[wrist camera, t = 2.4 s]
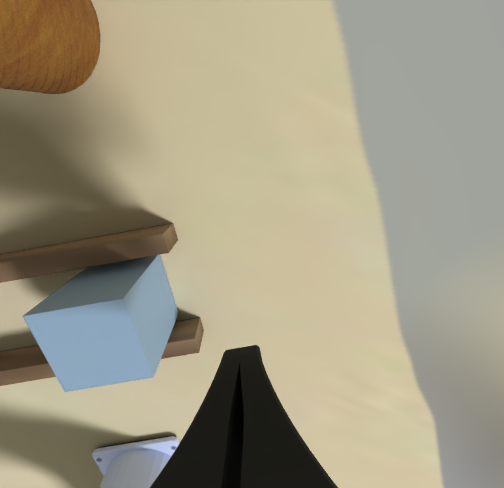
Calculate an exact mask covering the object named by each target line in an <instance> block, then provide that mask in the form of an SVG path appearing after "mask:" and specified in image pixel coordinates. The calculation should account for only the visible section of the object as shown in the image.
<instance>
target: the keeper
mask: <svg viewBox="0 0 504 488" xmlns="http://www.w3.org/2000/svg"><path fill="white" fill-rule="evenodd" d="M177 316H178V310H177V307H176V304H175V300H174V297H173V294H172V291H171V288H170V285H169V281H168V278H167V275H166V272H165V269H164V266H163V263H162V259H161V256H160V254H159V255H153V256H147V257H142V258H136V259H131V260H125V261H119V262H114V263H108V264H102V265H97V266H91V267H87V268H86V269H85V270H83V271H82V272H81V273H79V274H78V275H77V276H75V277H74V278H73V279H71V280H70V281H69V282H67V283H66V284H65V285H63V286H62V287H61V288H59V289H58V290H57V291H55V292H54V293H53V294H51V295H50V296H49V297H47V298H46V299H45V300H43V301H42V302H41V303H39V304H38V305H37V306H35V307H34V308H33V309H31V310H30V311H29V312H27V313H26V314H25V315H23V318H24V320H25V322H26V323H27V325H28V327H29V329H30V331H31V332H32V334H33V336H34V338H35V339H36V341H37V343H38V345H39V347H40V348H41V350H42V352H43V354H44V356H45V357H46V359H47V361H48V363H49V365H50V366H51V368H52V370H53V372H54V374H55V375H56V377H57V379H58V381H59V383H60V384H61V386H62V388H63V390H64V392H68V391H74V390H80V389H86V388H92V387H98V386H104V385H110V384H116V383H122V382H128V381H134V380H140V379H146V378H152V377H154V375H155V372H156V370H157V367H158V365H159V362H160V360H161V357H162V354H163V352H164V349H165V347H166V344H167V342H168V339H169V336H170V334H171V331H172V329H173V326H174V324H175V321H176V318H177Z"/></svg>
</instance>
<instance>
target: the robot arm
mask: <svg viewBox="0 0 504 488" xmlns="http://www.w3.org/2000/svg"><path fill="white" fill-rule="evenodd" d="M92 457H93V459H94V461H95V463H96V464H97V466H98V468H99V470H100V471H101V473H102V475H103V480H102V482H101V485H100V487H99V488H338V487H337V486H336V485H335V483H334V482H333V481H332V480H331V478H330V477H329V476H328V474H327V473H326V471H325V470H324V469H323V467H322V466H321V465H320V463H319V462H318V461H317V459H316V458H315V457H314V455H313V454H312V452H311V451H310V450H309V448H308V447H307V445H306V444H305V442H304V441H303V439H302V438H301V436H300V435H299V433H298V431H297V430H296V428H295V427H294V425H293V423H292V422H291V420H290V418H289V417H288V415H287V413H286V412H285V410H284V408H283V406H282V404H281V403H280V401H279V399H278V397H277V395H276V393H275V391H274V389H273V387H272V384H271V382H270V380H269V378H268V376H267V373H266V371H265V368H264V365H263V362H262V358H261V353H260V348H259V347H258V346H257V345H254V346H248V347H242V348H236V349H230V350H226V351H225V352H224V354H223V357H222V360H221V363H220V365H219V368H218V370H217V373H216V375H215V377H214V380H213V382H212V384H211V386H210V388H209V390H208V392H207V395H206V397H205V399H204V401H203V403H202V405H201V406H200V408H199V410H198V412H197V414H196V416H195V418H194V420H193V422H192V423H191V425H190V427H189V429H188V430H187V432H186V434H185V435H184V437H183V439H182V440H181V442H180V443H179V440H178V438H176V437H174V436H171V437H165V438H159V439H153V440H146V441H140V442H134V443H128V444H122V445H116V446H109V447H103V448H97V449H95V450H94V451H93V453H92Z"/></svg>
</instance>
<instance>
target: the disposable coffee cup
mask: <svg viewBox="0 0 504 488" xmlns="http://www.w3.org/2000/svg"><path fill="white" fill-rule="evenodd" d="M99 52H100V31H99V23H98V19H97V15H96V12H95V9H94V7H93V4H92V2H91V0H0V88H4V89H14V90H23V91H33V92H41V93H47V94H60V93H66V92H69V91H71V90H74V89H76V88H77V87H79V86H80V85H82V84H83V83H84V82H85V81H86V80H87V79H88V78H89V76H90V75H91V74H92V71H93V69H94V67H95V65H96V63H97V60H98V56H99Z"/></svg>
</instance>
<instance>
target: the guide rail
mask: <svg viewBox="0 0 504 488" xmlns="http://www.w3.org/2000/svg"><path fill="white" fill-rule="evenodd" d="M177 241H178V239H177V235H176V232H175V228H174V225H173V223H172V224H167V225H161V226H156V227H150V228H144V229H139V230H133V231H128V232H122V233H117V234H111V235H106V236H100V237H94V238H89V239H83V240H78V241H72V242H67V243H61V244H55V245H50V246H44V247H39V248H33V249H28V250H22V251H17V252H11V253H5V254H0V283H1V282H7V281H12V280H18V279H23V278H29V277H35V276H40V275H46V274H52V273H57V272H63V271H69V270H74V269H80V268H85V267H91V266H97V265H102V264H108V263H114V262H119V261H125V260H131V259H136V258H142V257H147V256H153V255H159V254H164V253H169V252H170V250H171V249H172V247H173V246H174V245H175V243H176V242H177ZM203 331H204V330H203V326H202V323H201V319H200V318H194V319H189V320H183V321H177V322H175V324H174V326H173V329H172V331H171V334H170V336H169V339H168V342H167V344H166V347H165V349H164V352H163V354H162V357H161V359H163V358H169V357H175V356H181V355H187V354H193V353H199V350H200V345H201V341H202V336H203ZM50 377H56V375H55V374H54V372H53V370H52V368H51V366H50V365H49V363H48V361H47V359H46V357H45V356H44V354H43V352H42V350H41V348H40V347H39V345H37V346H31V347H25V348H19V349H14V350H8V351H2V352H0V386H3V385H9V384H15V383H20V382H26V381H32V380H38V379H44V378H50Z"/></svg>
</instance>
